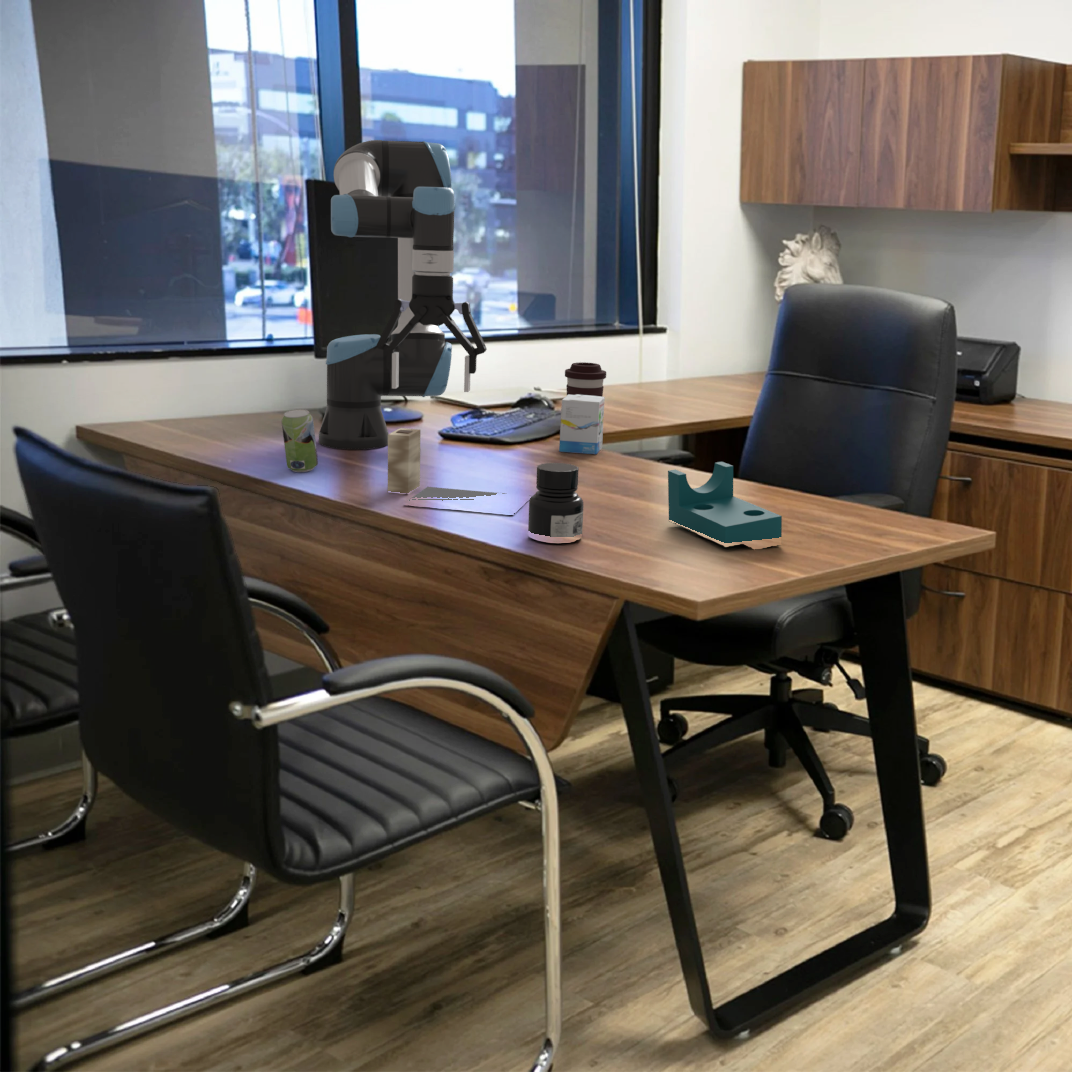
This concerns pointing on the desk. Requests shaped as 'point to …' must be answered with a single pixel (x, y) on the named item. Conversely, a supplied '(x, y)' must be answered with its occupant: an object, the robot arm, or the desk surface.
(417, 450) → the birch block
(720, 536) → the teal l-shaped bracket
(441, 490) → the felt pad
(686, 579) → the desk surface
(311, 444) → the beverage can
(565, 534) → the ink bottle
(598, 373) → the coffee cup
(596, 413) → the ink box
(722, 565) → the desk surface
